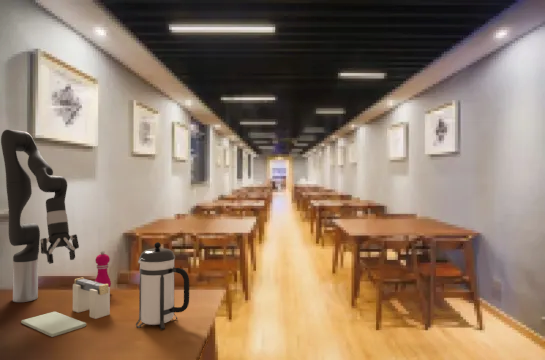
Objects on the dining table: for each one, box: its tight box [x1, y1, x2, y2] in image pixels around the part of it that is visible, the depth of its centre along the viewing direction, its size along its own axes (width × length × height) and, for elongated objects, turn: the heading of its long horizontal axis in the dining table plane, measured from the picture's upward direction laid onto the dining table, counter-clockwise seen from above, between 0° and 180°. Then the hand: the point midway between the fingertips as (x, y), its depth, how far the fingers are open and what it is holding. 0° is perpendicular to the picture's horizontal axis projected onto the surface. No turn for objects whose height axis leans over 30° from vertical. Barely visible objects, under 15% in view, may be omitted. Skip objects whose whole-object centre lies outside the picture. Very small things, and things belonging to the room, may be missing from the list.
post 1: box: [72, 283, 90, 313], centre depth 158 cm, size 4×6×11 cm, turn 146°
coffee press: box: [135, 241, 190, 331], centre depth 144 cm, size 17×16×30 cm
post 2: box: [89, 286, 111, 320], centre depth 152 cm, size 4×6×11 cm, turn 146°
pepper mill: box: [94, 250, 112, 288], centre depth 180 cm, size 7×7×20 cm
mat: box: [21, 310, 87, 338], centre depth 142 cm, size 22×12×1 cm, turn 56°
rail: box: [74, 277, 108, 295], centre depth 155 cm, size 18×3×3 cm, turn 56°
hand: (61, 261), depth 160 cm, fingers open, 8 cm apart
